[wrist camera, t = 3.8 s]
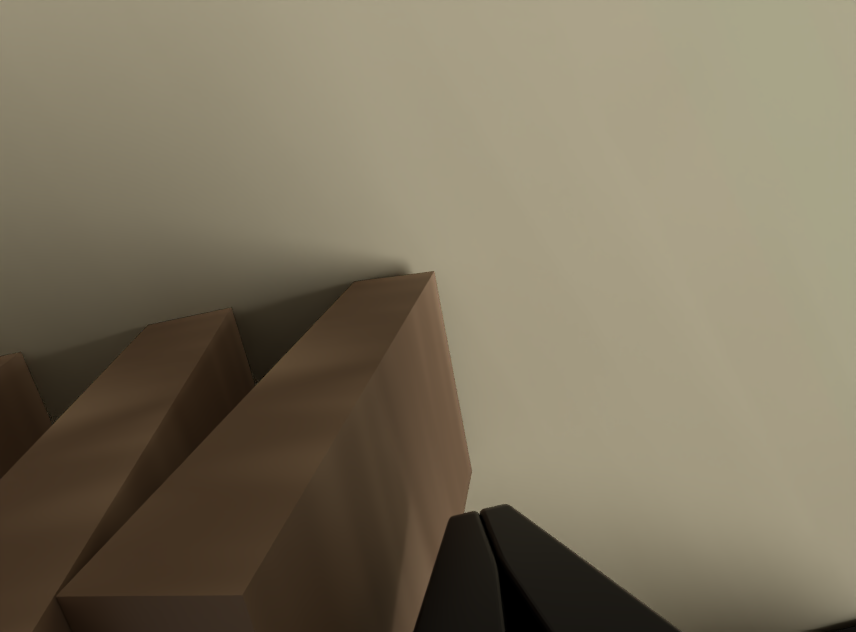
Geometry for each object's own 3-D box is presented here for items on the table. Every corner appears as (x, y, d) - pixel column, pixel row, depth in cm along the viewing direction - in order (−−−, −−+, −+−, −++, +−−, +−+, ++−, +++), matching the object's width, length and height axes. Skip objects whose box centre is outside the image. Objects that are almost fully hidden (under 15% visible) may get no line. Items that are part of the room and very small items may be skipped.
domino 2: (434, 271, 13) (241, 595, 5) (472, 471, 15) (373, 967, 7) (354, 281, 14) (55, 596, 5) (399, 475, 15) (222, 944, 7)
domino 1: (231, 307, 14) (30, 634, 5) (290, 500, 15) (212, 995, 7) (148, 324, 13) (-200, 688, 5) (215, 517, 15) (42, 1041, 7)
